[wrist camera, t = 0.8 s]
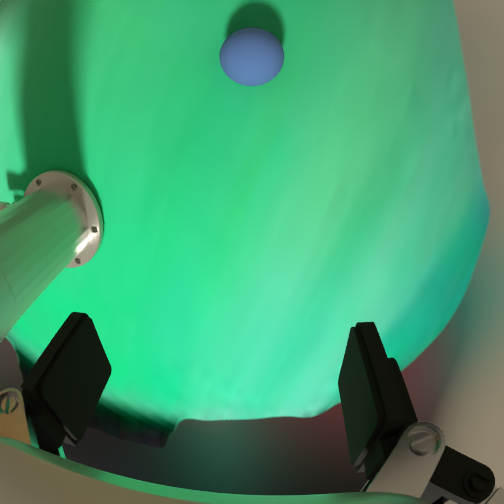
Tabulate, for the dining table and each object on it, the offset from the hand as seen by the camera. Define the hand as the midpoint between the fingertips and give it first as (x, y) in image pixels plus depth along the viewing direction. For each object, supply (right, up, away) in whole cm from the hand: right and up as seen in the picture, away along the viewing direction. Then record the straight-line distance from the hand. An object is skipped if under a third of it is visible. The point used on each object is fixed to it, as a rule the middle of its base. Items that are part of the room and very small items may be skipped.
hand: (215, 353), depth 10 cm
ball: (+1, +20, +12) cm, 24 cm away
